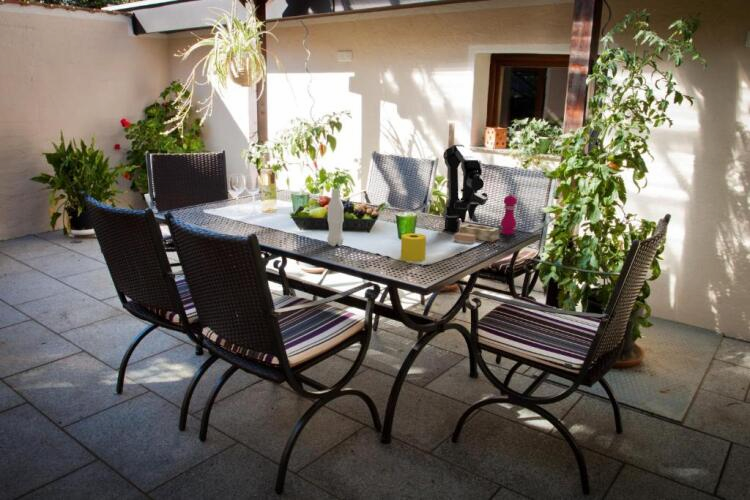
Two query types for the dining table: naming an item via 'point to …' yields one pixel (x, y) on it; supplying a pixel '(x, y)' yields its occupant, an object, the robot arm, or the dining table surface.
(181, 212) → the dining table surface
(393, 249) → the dining table surface
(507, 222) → the pepper mill
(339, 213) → the water bottle
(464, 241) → the felt coaster
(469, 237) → the terracotta block
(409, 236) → the yellow hollow cylinder
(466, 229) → the beech pocket board
